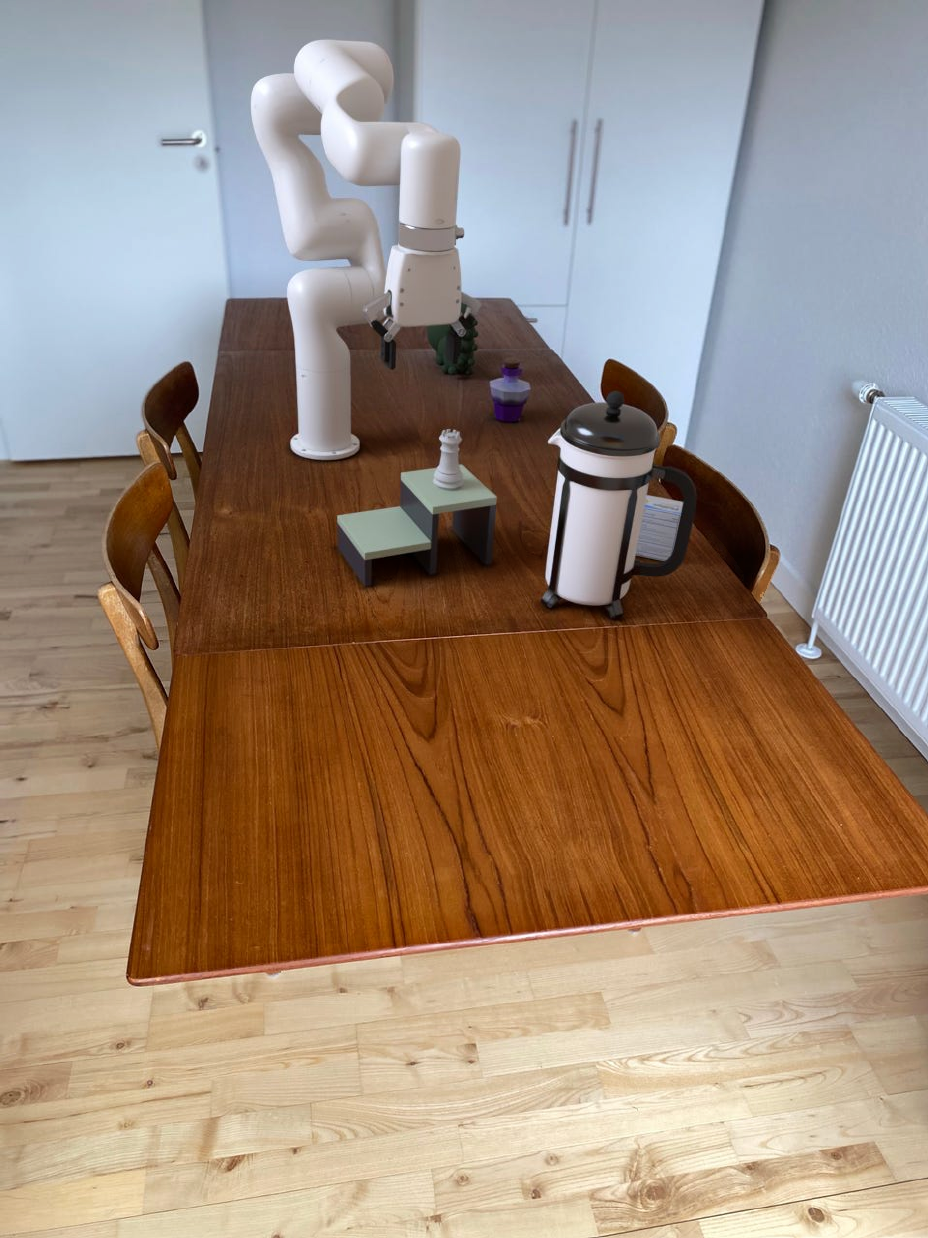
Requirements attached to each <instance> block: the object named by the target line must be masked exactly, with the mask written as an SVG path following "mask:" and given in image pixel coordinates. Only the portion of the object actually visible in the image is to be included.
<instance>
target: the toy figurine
mask: <svg viewBox="0 0 928 1238" xmlns="http://www.w3.org/2000/svg"><path fill="white" fill-rule="evenodd" d="M466 309H467V305H466V304H464V303H462V302H461V311H460V313H462V315H463V314H464V313H465V312H466ZM460 317H461V316H460ZM460 317H459V318H460ZM478 324H479V321H478V320H477V319H476V317H475V318H474V322H473V323H472V324H471V326H470V327H469V328H468V329H467V330H466V333H465V335H464V336H462V341H461V354H460V356H458V364H452V363H451V362H450V361H449V360H447V359H446V358H445V346H446V333H447V330H450V327H449V326H448V325H447V324H446V325H433V326H427V328H426V336H427V337H426V338H427V340H428V343H429V345H430V347H431V348H432V349H433V350H434V351H435V354H436V357H435V363H436V364H437V366H440V367H441V369H440V370H441V372H442V373H443V374H444V375H445V374H448V375H450V376H456V375H457V374H458V373H462V372H463V373H464V374H465V375H467V376H472V375H473V374H474V371H475V368H474V366H475V365H476V360H475V358H474V357H475V352H477V350H478V348H479V346H478V345H477V344H476V340H475V339H476V338H478V336H479V331H478V330H476V327H477V326H478Z"/></svg>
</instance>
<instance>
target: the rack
mask: <svg viewBox="0 0 928 1238" xmlns="http://www.w3.org/2000/svg"><path fill="white" fill-rule="evenodd" d="M459 467H460V469H461V470H460V471H461V472H462V473H463V479H462V480H463V484H462V486H461V487H459V488H458V489H455V490H444V489H440V488H438V487H437V486H436V485H435V484H434V482H433V479H434V478H435V477H434V473H435V470H437V467H433V468H432V467H431V468H425V469H424V468H423V469H418V470H411V471H410V470H409V471H403V472H400V502H399V503H400V504H399V505H398V506H393V507H386V508H385V507H384V508H379V509H371V510H366V511H358V512H352V513H345V514H344V513H343V514H339V515H336V517H337V518H336V522H337V523H336V526H337V527H336V528H337V532H336V533H337V549H338V550H339V552H340V554H341V555H342V556H343V557H344V559H345V561H346V562H347V564H348V565H349V566H350V568H351V569H352V571H353V572H354V573H355V575H356V577H357V578H358V579H359V581H360V583H361V584H362V586H364V588H366V587H371V586H372V560H375V559H380V558H385V557H393V556H398V555H404V554H410V553H411V554H412V555H413V556H414V557H415V559H416V560H417V561H418V562H419V563H420V565H421V566H422V567H423V568H424V569H425V571H426V572H427V573H428V574H429V576H430V575H431V576H432V575H436V574H437V564H438V563H437V560H438V543H439V542H438V541H439V540H438V539H439V521H440V520H439V519H440V514H446V513H451V512H452V526H451V527H452V531H453V532H454V533H455V534H456V535H457V536H458V537H459V538H460V539H461V540H462V541H463V543H465V545H466V546H467V547H468V548H469V549H470V550H471V551H472V553H474V554H475V555H476V556H477V558H478V559H479V560H480V561H481V562H482V563H483V564H484V565H486V566H488V565H491V564H492V560H493V558H492V557H493V548H494V536H495V535H494V534H495V525H496V514H497V502H498V497H497V495H496V494H494V493H493V492H492V491H491V490H490V488H488V487H486V486H485V484H483V482H481V481H480V479H478V477H476V476H475V475H474V474H473V473H472V472H471V471H469V469H467V468H466V467H465V466H464V465H463V464H459Z"/></svg>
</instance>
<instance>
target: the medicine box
mask: <svg viewBox="0 0 928 1238" xmlns="http://www.w3.org/2000/svg"><path fill="white" fill-rule="evenodd" d="M682 506H683V501H679V500H674V499H670V498H665V497H661V496H654V495H649V494H647V496H646V501H645V507H644V512H643V517H642V523H641V528H640V533H639V539H638V544H637V550H636V555H635V557H641V558H647V559H650V560H651V559H652V560H656V561H661V562H664V561H666V560H667V559H668V558H669V557H670V556H671V554H672V552H673V549H674V544H675V540H676V535H677V530H678V525H679V521H680V516H681V511H682Z"/></svg>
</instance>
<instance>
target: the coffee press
mask: <svg viewBox="0 0 928 1238" xmlns="http://www.w3.org/2000/svg"><path fill="white" fill-rule="evenodd" d="M624 403H625V397H624V394H623V393H622V392H620V391H619V390H613V391H611V392H610V393H608V395H607V396H606V398H605V401H602V402H599V401H598V402H590V403H586V404H583V405H580V406H578V407H576V408H574V409H573V410H572V411H570V412H569V414H568V415H567V417H566V418H565V419H564V420H563V421H562V422H561V423H560V427H559V428H558V429H557V430H556V431H555V433H553V434H552V435H551V437H550V438H549V439H548V441H547V443H548V444H549V445H556V446H558V447H559V451H558V454H557V462H556V468H557V477H556V485H555V493H554V500H553V501H554V502H553V509H552V517H551V526H550V533H549V541H548V549H547V555H546V556H547V557H546V565H545V582H546V584H547V585H548V587H547V590H546V591H545V593H544V595H543V596H542V597H541V599H540V603H541V604H542V605H543V606H544V607H545V608H546V609H548V610H549V609H552V608H554V607H555V606H556V604H557V603H558V602H559V601H561V600H562V599H564V600H565V601H568V602H572V603H574V604H578V605H584V606H603V607H604V608H605V610H606V613H607V614H608V617H609V619H611V620H612V621H613V620H618V619H621V618H622V617H623V616H624V611H623V607H622V604H621V599H622V598H623V597H625V596H626V594H627V593H628V591H629V589H630V585H631V581H632V578H633V577H634V576H642V577H651V578H652V577H653V578H656V577H657V578H658V577H666V576H669V575H670V574H672V573H674V572H676V571H677V570H678V569H679V567H680V566H681V565H682V563H683V562H684V559H685V557H686V554H687V551H688V546H689V542H690V537H691V534H692V528H693V524H694V520H695V514H696V510H697V509H696V508H697V490H696V486H695V483H694V481H693V479H692V478H691V477H690V476H689V474H688V473H686V472H685V471H683V470H681V469H679V468H677V467H674V466H671V465H670V466H669V465H667V466H663V465H655V461H654V458H655V452H656V450H657V449H658V447H659V446H660V443H661V434H660V432H659V430H658V427H657V425H656V422H655V421H654V419H653V418H652V416H650V415H648V414H647V413H646V412H644V411H643V410H641V409H639V408H636V407H634V406H630V405H627V404H624ZM652 479H660V480H664V481H665V482H669V483H672V484H674V485H675V486H677V487H678V488H679V490H680V492H681V494H682V502H683V506H682V511H681V516H680V521H679V525H678V530H677V535H676V540H675V544H674V549H673V552H672V554H671V556H670V557H669V558H668V559H667V560H666V561H661V562H657V563H653V562H644V561H641V560H638V559H637V558H636V550H637V544H638V539H639V533H640V528H641V523H642V517H643V512H644V507H645V501H646V496H647V495H648V491H649V490H648V489H649V483H651V481H652Z"/></svg>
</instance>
